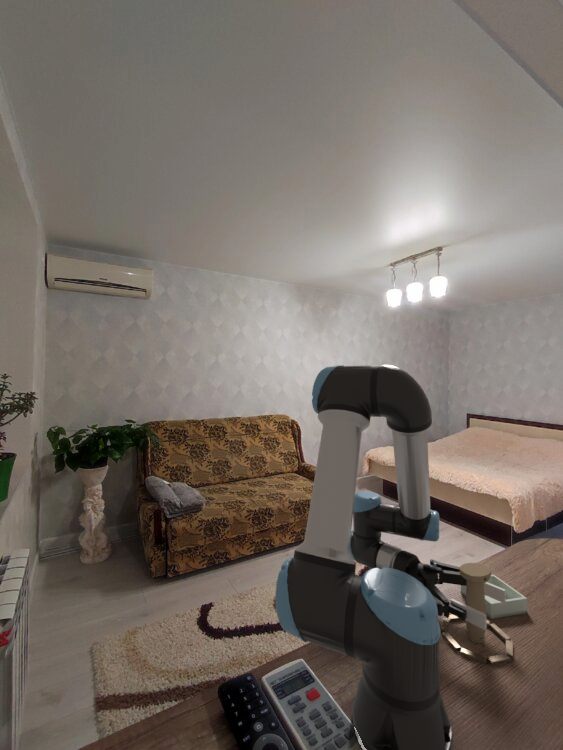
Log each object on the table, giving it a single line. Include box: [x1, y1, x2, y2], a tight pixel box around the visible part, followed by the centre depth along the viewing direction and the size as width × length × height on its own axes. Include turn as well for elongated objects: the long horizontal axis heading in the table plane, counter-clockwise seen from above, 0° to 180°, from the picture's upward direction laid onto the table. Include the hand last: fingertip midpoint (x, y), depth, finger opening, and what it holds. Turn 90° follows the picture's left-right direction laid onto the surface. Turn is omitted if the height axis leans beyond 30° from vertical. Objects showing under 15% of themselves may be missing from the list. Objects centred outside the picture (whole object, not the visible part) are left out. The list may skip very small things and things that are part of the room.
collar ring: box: [440, 614, 514, 667], centre depth 73 cm, size 13×13×1 cm
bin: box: [460, 574, 528, 620], centre depth 85 cm, size 10×10×4 cm
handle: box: [459, 562, 492, 645], centre depth 73 cm, size 5×6×15 cm
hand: (496, 608), depth 70 cm, fingers open, 11 cm apart
